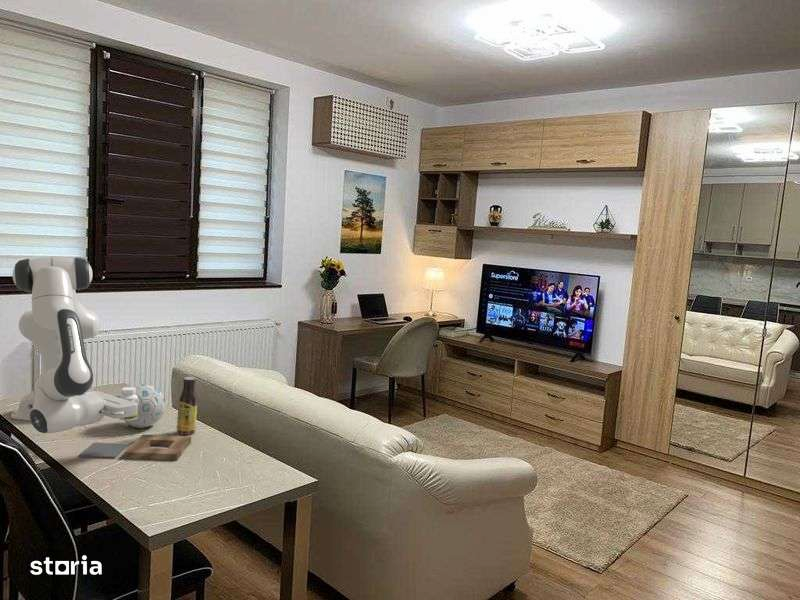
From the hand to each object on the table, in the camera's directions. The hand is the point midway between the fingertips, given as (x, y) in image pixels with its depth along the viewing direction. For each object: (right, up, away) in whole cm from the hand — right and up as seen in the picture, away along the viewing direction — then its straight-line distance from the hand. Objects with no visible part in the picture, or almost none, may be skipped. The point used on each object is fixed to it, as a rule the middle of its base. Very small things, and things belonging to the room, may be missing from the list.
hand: (130, 399), depth 194 cm
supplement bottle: (-1, -6, 0) cm, 6 cm away
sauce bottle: (+11, -15, +20) cm, 28 cm away
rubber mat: (-8, -16, -1) cm, 18 cm away
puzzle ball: (-7, -14, +24) cm, 28 cm away
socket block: (+8, -17, +3) cm, 19 cm away
